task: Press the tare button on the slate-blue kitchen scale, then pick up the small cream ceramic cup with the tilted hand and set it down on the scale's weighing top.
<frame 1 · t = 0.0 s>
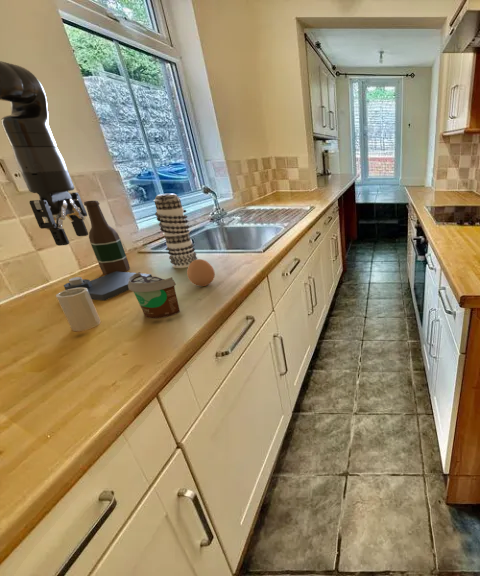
hand: (73, 240, 77), 19 cm above the worktop, tool pointing down, fingers open, 8 cm apart
egg: (204, 285, 100), on the worktop
scale: (112, 287, 98), on the worktop
food container: (156, 315, 82), on the worktop
cup: (86, 325, 77), on the worktop
tare button: (76, 281, 92), point 4 cm above the worktop, slide at 0.1 cm
white patterned cylinder: (185, 264, 118), on the worktop
beer bottle: (117, 271, 111), on the worktop
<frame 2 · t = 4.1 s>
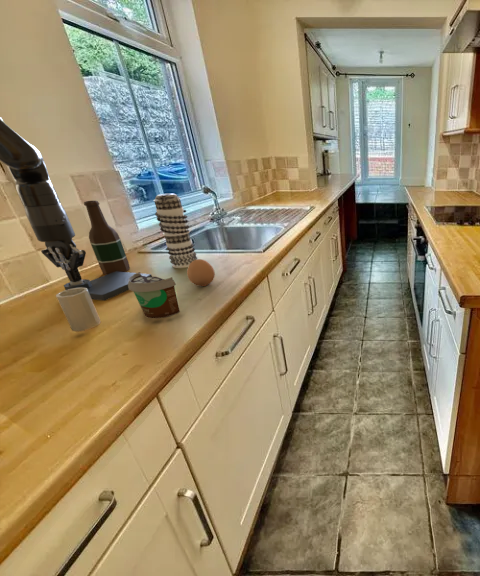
hand: (76, 280, 92), 4 cm above the worktop, tool pointing down, fingers closed
tare button: (77, 283, 93), point 3 cm above the worktop, slide at -0.6 cm, touching gripper
everything else where it was.
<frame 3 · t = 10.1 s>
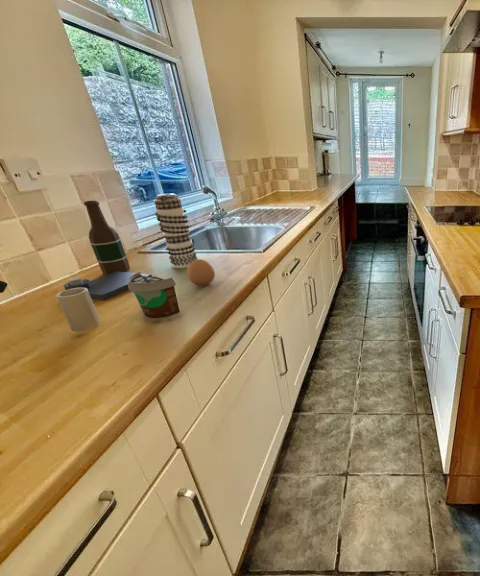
tare button: (76, 281, 92), point 4 cm above the worktop, slide at 0.1 cm
everything else where it was.
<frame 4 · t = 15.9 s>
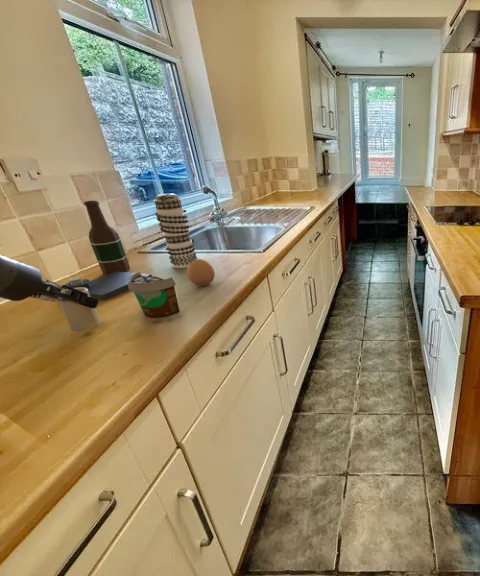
hand: (85, 303, 77), 5 cm above the worktop, tool tilted 45°, fingers closed on cup, 5 cm apart
cup: (86, 325, 77), on the worktop, touching gripper
everything else where it was.
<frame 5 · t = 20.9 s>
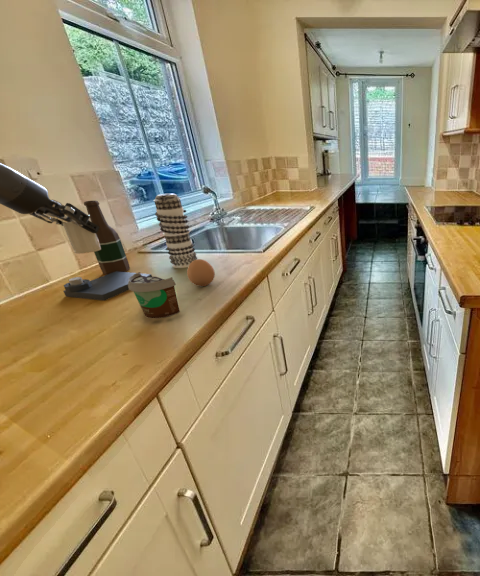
hand: (87, 229, 84), 20 cm above the worktop, tool tilted 45°, fingers closed on cup, 5 cm apart
cup: (88, 250, 84), point 15 cm above the worktop, touching gripper
everything else where it was.
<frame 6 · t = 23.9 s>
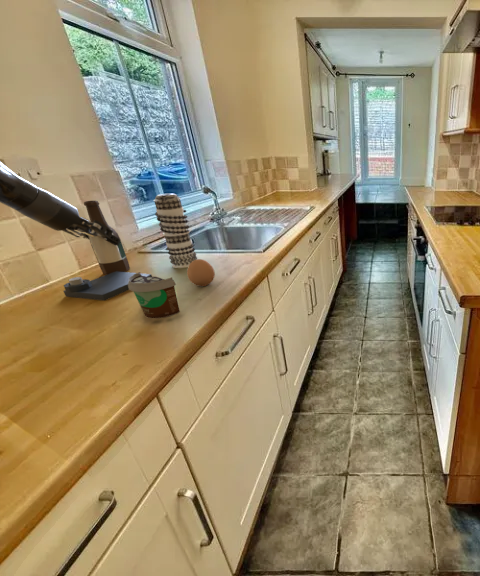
hand: (110, 242, 95), 14 cm above the worktop, tool tilted 45°, fingers closed on cup, 5 cm apart
cup: (110, 260, 95), point 9 cm above the worktop, touching gripper
everything else where it was.
when the fingers open (7 cm above the worktop, at t = 26.3 s): cup stays where it is, resting on scale.
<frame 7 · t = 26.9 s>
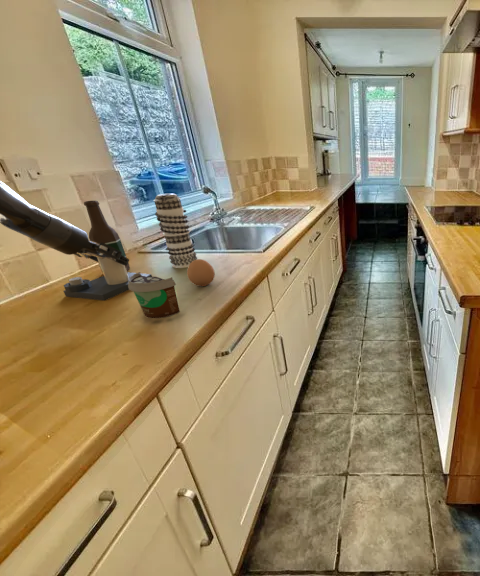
hand: (115, 261, 97), 8 cm above the worktop, tool tilted 45°, fingers open, 8 cm apart
cup: (118, 281, 98), point 2 cm above the worktop, touching scale
everything else where it was.
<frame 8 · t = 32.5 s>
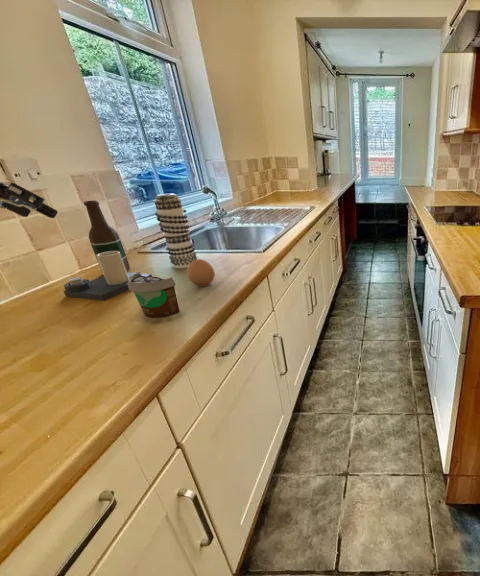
hand: (41, 214, 78), 25 cm above the worktop, tool tilted 45°, fingers open, 8 cm apart
nothing on the worktop moved.
at the end: tare button pushed in 1.0 cm at the most during the clip, back to where it started at the end; cup inside the target area on the scale (2.3 cm from its centre), point 1.9 cm above the scale's base; cup tilted 0° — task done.
